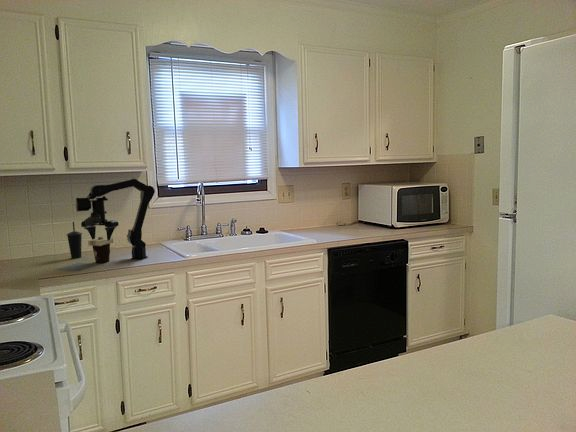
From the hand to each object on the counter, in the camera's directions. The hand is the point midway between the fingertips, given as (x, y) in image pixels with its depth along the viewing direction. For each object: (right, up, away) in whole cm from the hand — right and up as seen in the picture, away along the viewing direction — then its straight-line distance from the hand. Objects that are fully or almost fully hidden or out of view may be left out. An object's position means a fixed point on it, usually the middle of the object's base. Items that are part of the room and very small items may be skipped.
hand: (101, 240), depth 241 cm
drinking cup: (-20, -11, +16) cm, 28 cm away
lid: (0, -2, 0) cm, 2 cm away
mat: (-9, -13, -7) cm, 17 cm away
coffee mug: (0, -12, +1) cm, 12 cm away
